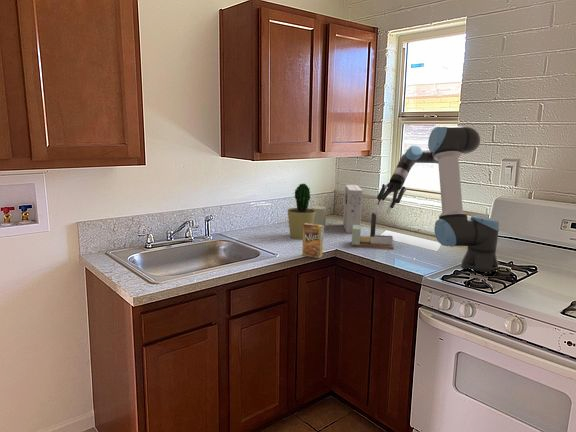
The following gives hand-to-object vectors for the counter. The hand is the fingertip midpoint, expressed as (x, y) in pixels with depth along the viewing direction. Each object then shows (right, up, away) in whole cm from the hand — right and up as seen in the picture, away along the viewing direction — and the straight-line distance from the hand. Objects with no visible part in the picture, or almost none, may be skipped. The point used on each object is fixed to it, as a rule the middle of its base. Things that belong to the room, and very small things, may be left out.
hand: (382, 211), depth 239 cm
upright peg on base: (-10, -16, -3) cm, 19 cm away
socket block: (-15, -16, -3) cm, 22 cm away
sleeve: (-2, -17, -4) cm, 18 cm away
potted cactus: (-43, -14, +10) cm, 46 cm away
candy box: (-38, -22, -26) cm, 51 cm away
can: (-32, -9, +37) cm, 49 cm away
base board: (-6, -18, -4) cm, 19 cm away
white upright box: (-12, -10, +32) cm, 36 cm away
